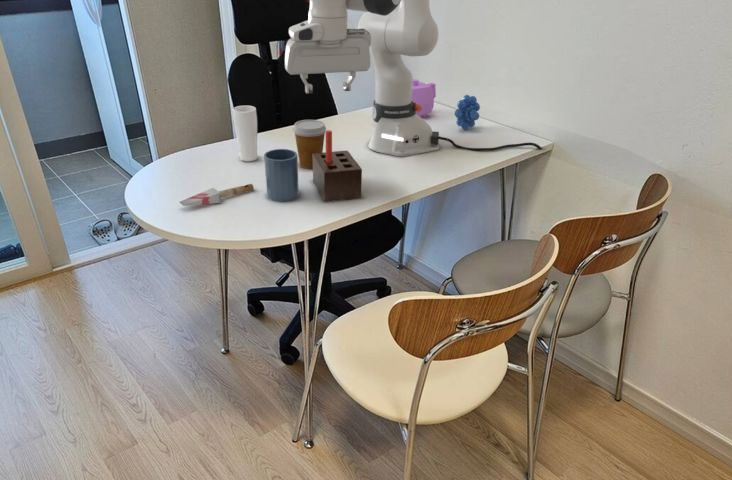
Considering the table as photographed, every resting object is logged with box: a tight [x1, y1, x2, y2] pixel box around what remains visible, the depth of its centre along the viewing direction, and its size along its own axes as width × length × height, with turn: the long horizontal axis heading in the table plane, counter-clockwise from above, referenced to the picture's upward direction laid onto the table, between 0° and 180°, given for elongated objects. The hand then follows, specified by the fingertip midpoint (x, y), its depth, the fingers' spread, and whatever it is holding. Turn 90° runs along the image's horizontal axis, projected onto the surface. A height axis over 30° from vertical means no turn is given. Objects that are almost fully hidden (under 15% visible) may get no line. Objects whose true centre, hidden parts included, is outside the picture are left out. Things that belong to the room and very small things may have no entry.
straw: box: [325, 129, 333, 164], centre depth 144 cm, size 2×2×16 cm
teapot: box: [411, 78, 437, 118], centre depth 201 cm, size 20×12×13 cm, turn 122°
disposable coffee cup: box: [292, 119, 327, 170], centre depth 160 cm, size 10×10×12 cm
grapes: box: [454, 94, 481, 131], centre depth 188 cm, size 12×7×12 cm, turn 127°
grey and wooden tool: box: [178, 183, 255, 207], centre depth 142 cm, size 4×3×20 cm
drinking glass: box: [232, 105, 259, 162], centre depth 163 cm, size 7×7×15 cm
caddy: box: [312, 150, 363, 203], centre depth 147 cm, size 10×14×8 cm
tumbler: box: [263, 148, 300, 203], centre depth 143 cm, size 8×8×11 cm
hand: (328, 91), depth 134 cm, fingers open, 8 cm apart
